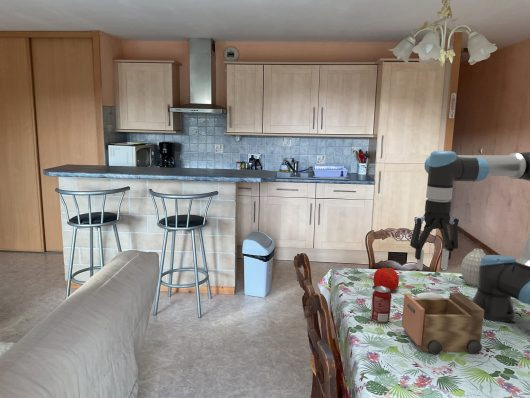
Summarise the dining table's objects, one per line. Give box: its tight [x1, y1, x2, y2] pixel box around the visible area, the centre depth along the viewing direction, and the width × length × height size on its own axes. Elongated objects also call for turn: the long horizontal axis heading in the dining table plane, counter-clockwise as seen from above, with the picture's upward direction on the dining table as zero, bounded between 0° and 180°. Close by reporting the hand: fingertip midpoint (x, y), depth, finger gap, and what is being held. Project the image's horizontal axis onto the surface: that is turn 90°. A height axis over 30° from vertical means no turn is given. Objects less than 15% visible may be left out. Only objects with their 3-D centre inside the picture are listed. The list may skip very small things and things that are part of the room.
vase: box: [460, 248, 487, 287], centre depth 193 cm, size 13×13×17 cm
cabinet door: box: [401, 293, 425, 346], centre depth 138 cm, size 2×13×12 cm, turn 4°
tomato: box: [372, 267, 400, 292], centre depth 184 cm, size 11×12×9 cm
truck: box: [404, 292, 485, 355], centre depth 139 cm, size 19×17×14 cm
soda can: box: [370, 286, 392, 324], centre depth 153 cm, size 7×7×12 cm
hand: (431, 268), depth 135 cm, fingers open, 8 cm apart
